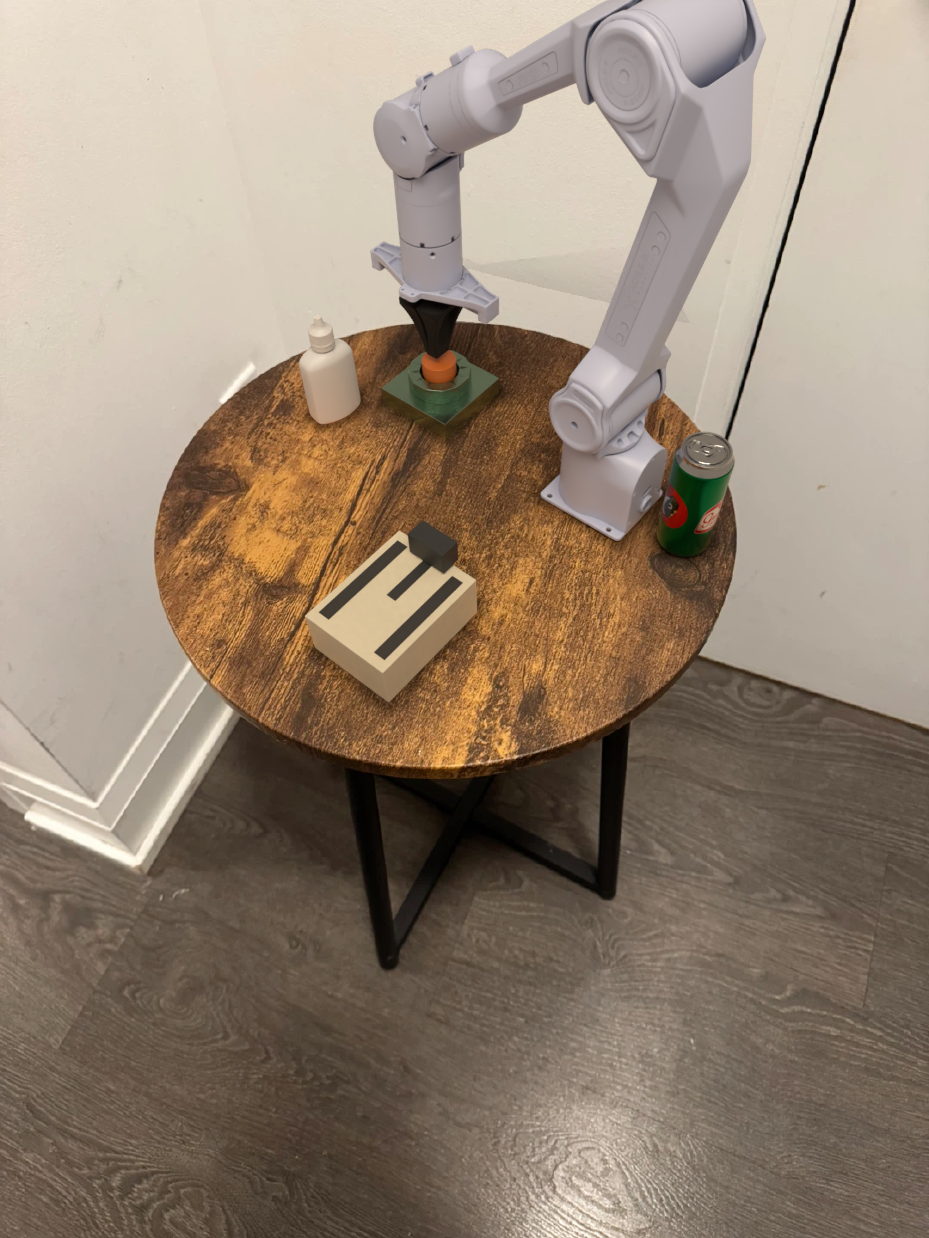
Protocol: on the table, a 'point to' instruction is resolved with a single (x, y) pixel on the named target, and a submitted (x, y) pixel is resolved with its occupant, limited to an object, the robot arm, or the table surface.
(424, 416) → the panel
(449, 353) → the button
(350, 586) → the toaster
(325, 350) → the eye dropper bottle
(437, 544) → the block
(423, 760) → the table surface
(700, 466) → the soda can
